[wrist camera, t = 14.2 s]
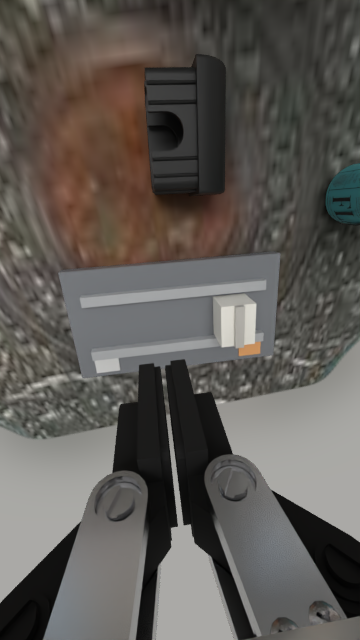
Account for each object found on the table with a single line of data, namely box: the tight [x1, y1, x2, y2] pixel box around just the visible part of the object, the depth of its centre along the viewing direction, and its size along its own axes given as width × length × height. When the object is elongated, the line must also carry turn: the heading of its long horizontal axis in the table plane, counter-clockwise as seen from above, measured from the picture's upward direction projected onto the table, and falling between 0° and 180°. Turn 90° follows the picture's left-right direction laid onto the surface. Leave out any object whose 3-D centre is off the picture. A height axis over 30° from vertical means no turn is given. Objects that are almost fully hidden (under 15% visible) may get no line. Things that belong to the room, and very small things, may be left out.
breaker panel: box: [58, 251, 280, 378], centre depth 36 cm, size 14×26×2 cm, turn 94°
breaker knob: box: [213, 293, 256, 348], centre depth 34 cm, size 5×4×5 cm
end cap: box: [145, 54, 226, 196], centre depth 27 cm, size 10×7×7 cm
